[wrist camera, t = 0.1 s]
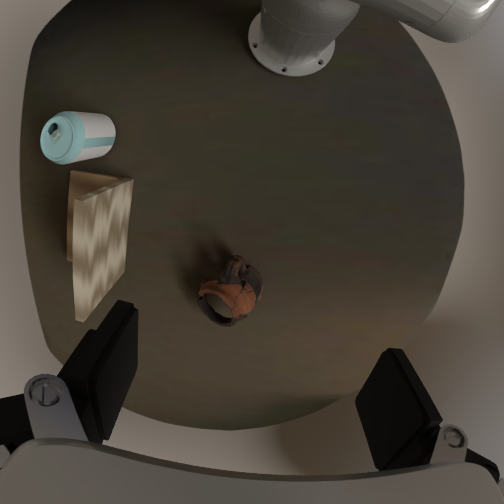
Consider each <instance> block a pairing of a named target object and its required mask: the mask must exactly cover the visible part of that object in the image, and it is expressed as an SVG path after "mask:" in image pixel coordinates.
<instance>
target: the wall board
mask: <svg viewBox="0 0 504 504" xmlns="http://www.w3.org/2000/svg"><path fill="white" fill-rule="evenodd" d="M133 182H134V179H131V178H125V177H120V176H114V175H108V174H102V173H96V172H90V171H83V170H77V169H74V170H71V171H70V182H69V195H68V214H67V261H71V262H73V285H74V302H75V315H76V320H78V321H81V322H84V321H85V320H86V319H87V317H88V316H89V315H90V313H91V312H92V311H93V310H94V308H95V307H96V306H97V305H98V303H99V302H100V301H101V299H102V298H103V297H104V296H105V295H106V293H107V292H108V291H109V290H110V288H111V287H112V286H113V285H114V284H115V282H116V281H117V280H118V279H119V278H120V276H121V275H122V274H123V273H124V272H125V257H126V244H127V233H128V223H129V213H130V205H131V197H132V189H133Z"/></svg>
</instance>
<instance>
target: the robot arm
mask: <svg viewBox="0 0 504 504" xmlns="http://www.w3.org/2000/svg"><path fill="white" fill-rule="evenodd" d="M500 1H501V0H262V7H261V12H260V13H258V14H257V15H256V16H255V18H254V19H253V21H252V22H251V25H250V27H249V32H248V42H249V47H250V49H251V52H252V54H253V55H254V57H255V58H256V60H257V61H258V62H259V63H260V64H261V65H262V66H264V67H265V68H266V69H268V70H270V71H272V72H274V73H276V74H279V75H282V76H287V77H303V76H307V75H310V74H313V73H315V72H317V71H319V70H320V69H322V68H323V67H324V66H325V65H326V64H327V63H328V62H329V60H330V59H331V57H332V55H333V52H334V48H335V38H336V37H337V36H338V35H339V34H340V33H341V32H342V31H343V30H344V28H345V27H346V26H347V25H348V24H349V23H350V22H351V21H352V20H353V18H354V17H355V16H356V14H357V12H358V10H359V6H360V5H362V6H364V7H369V8H371V9H374V10H376V11H379V12H381V13H383V14H385V15H388V16H390V17H392V18H394V19H396V20H398V21H400V22H403V23H405V24H407V25H408V26H411V27H412V28H414V29H416V30H419V31H420V32H422V33H424V34H426V35H428V36H430V37H432V38H434V39H437V40H440V41H443V42H448V43H459V42H463V41H465V40H467V39H469V38H471V37H472V36H474V35H475V34H476V33H477V32H478V31H479V30H480V29H481V28H482V27H483V26H484V25H485V24H486V23H487V21H488V20H489V19H490V17H491V16H492V14H493V13H494V11H495V9H496V8H497V6H498V5H499V3H500ZM254 46H257V48H254ZM318 62H320V63H321V65H320V64H318ZM282 69H284V70H285V72H282ZM137 365H138V309H136V308H134V304H133V303H129V302H125V301H121V300H118V301H117V302H116V303H115V304H114V306H113V307H112V309H111V310H110V311H109V313H108V314H107V316H106V317H105V319H104V320H103V321H102V323H101V324H100V326H99V327H98V329H97V330H93V329H90V330H89V331H88V332H87V333H86V334H85V336H84V337H83V339H82V340H81V341H80V343H79V344H78V346H77V347H76V349H75V350H74V351H73V353H72V354H71V356H70V357H69V359H68V360H67V362H66V363H65V365H64V366H63V368H62V369H61V371H60V372H59V374H58V375H57V376H55V375H50V374H40V375H37V376H34V377H33V378H31V379H30V380H29V381H28V382H27V383H26V385H25V388H24V394H19V395H15V396H10V397H5V398H1V399H0V504H504V479H503V478H501V479H500V480H499V476H500V474H499V470H498V467H497V465H496V464H495V463H493V462H492V461H490V460H488V459H486V458H484V457H483V456H481V455H479V454H477V453H475V452H474V451H472V450H470V449H468V448H467V445H468V439H467V436H466V434H465V433H464V432H463V431H462V430H461V429H460V428H459V427H457V426H455V425H452V424H446V425H443V426H442V427H441V428H440V426H439V424H440V423H441V422H442V421H443V419H442V417H441V416H440V414H439V412H438V410H437V408H436V406H435V405H434V403H433V401H432V399H431V397H430V396H429V394H428V392H427V390H426V389H425V387H424V385H423V383H422V382H421V380H420V378H419V376H418V375H417V373H416V371H415V370H414V368H413V366H412V365H411V363H410V361H409V360H408V358H407V356H406V355H405V353H404V351H403V350H402V349H396V348H388V349H387V350H386V351H384V352H383V353H382V354H381V356H380V358H379V359H378V361H377V363H376V365H375V367H374V368H373V370H372V372H371V374H370V375H369V377H368V379H367V380H366V382H365V384H364V385H363V387H362V389H361V390H360V392H359V394H358V395H357V397H356V401H355V404H356V408H357V411H358V414H359V417H360V420H361V423H362V426H363V429H364V432H365V436H366V439H367V442H368V445H369V448H370V452H371V455H372V458H373V461H374V465H375V467H376V468H377V469H379V471H378V472H368V473H357V474H342V475H309V476H308V475H305V476H304V475H272V474H257V473H245V472H235V471H226V470H218V469H211V468H205V467H199V466H193V465H188V464H183V463H178V462H173V461H168V460H162V459H158V458H154V457H150V456H145V455H141V454H138V453H133V452H130V451H126V450H121V449H118V448H114V447H110V446H106V445H102V442H103V440H109V438H110V436H111V433H112V430H113V428H114V425H115V422H116V420H117V417H118V415H119V412H120V410H121V407H122V405H123V402H124V400H125V397H126V395H127V392H128V390H129V388H130V385H131V383H132V380H133V378H134V376H135V373H136V370H137Z"/></svg>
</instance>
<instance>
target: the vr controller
mask: <svg viewBox="0 0 504 504" xmlns="http://www.w3.org/2000/svg"><path fill="white" fill-rule="evenodd" d="M220 281H221V282H222V283H223V284H218V280H212V281H208V282H207V280H206V278H204V279H203V281H202V283H201V288H200V291H199V292H198V294H199V295H200V296H201V297H200V298H199V299H198V301H197V302H198V305H199V307H200V309H201V310H202V312H203V313H204V314H205V315H206V316H207V317H208V318H209V319H210V320H212V321H213V322H215V323H216V324H218V325H221V326H233V325H235V323H236V322H239V321H242V320H244V319H246V318H247V315H245V316H242V315H241V314H245V313H248V312H251V310H252V309H253V308H254V304H255V303H256V302H258V301H259V299H260V297H261V293H262V290H263V282H262V278H261V277H260V275H259V273H258V272H257V271H256V270H255V269H254V268H253V267H252V266H249V267H248V268H246V266H245V259H244V258H243V257H242V256H238V255H235V256H232V257H231V258H230V259H229V260H228V262H227V264H226V266H225V269H224V270H223V271H222V272H221V275H220ZM241 281H244V284H243V287H242V285H241V284H240V282H241ZM205 293H211V294H216V295H217V296H219V297H220V298H221V299H222V300H224V301H225V302H226V303H227V305H228V306H229V307H230V309H231V311H232V316H233V318H226V317H223V316H222V315H220V314H219V313H217V312H215V310H214V309H213V308H212V307H211V306H210V305H209V303H208V302H207V300H206V297H205Z"/></svg>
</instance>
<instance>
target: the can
mask: <svg viewBox="0 0 504 504" xmlns="http://www.w3.org/2000/svg"><path fill="white" fill-rule="evenodd" d="M114 140H115V127H114V124H113V122H112V120H111V119H110V118H109V117H108V116H106V115H104V114H98V113H86V112H72V111H64V112H61V113H59V114H57V115H55V116H54V117H53V118H51V119H50V120H49V121H48V122H47V123H46V124H45V126H44V128H43V130H42V133H41V138H40V144H41V149H42V151H43V153H44V155H45V156H46V157H47V158H48V159H50V160H52V161H53V162H55V163H57V164H68V163H72V162H77V161H82V160H86V159H91V158H96V157H100V156H103V155H105V154H106V153H107V152H108V151H109V150H110V149H111V147H112V145H113V143H114Z"/></svg>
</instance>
